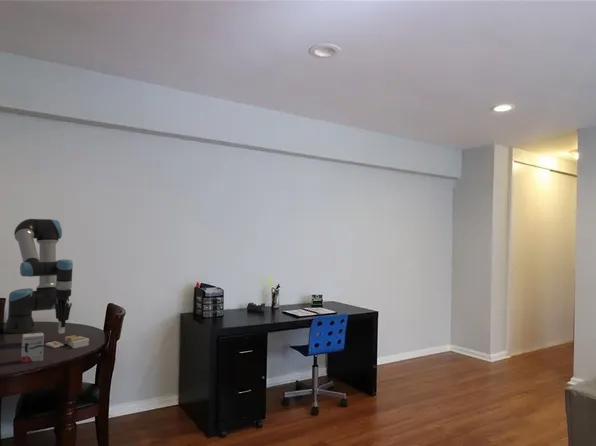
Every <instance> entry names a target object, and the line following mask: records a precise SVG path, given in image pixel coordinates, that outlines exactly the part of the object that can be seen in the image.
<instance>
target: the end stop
mask: <svg viewBox="0 0 596 446" xmlns="http://www.w3.org/2000/svg"><path fill="white" fill-rule="evenodd" d="M89 345H90V338H88V339H83V340H78V341H73V342H72V347H71V348H72V349H76V348H82V347H87V346H89Z"/></svg>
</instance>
